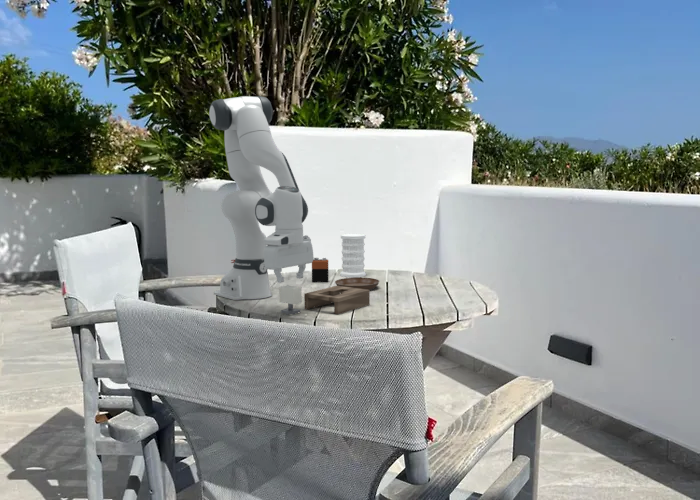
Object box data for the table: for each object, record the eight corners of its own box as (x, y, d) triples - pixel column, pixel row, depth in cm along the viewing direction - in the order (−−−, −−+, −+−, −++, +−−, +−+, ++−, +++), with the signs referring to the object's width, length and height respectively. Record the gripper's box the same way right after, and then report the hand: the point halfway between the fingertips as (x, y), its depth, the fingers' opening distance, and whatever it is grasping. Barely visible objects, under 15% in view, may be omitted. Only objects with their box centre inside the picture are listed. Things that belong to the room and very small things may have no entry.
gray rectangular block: (279, 312, 199) (278, 287, 198) (288, 310, 203) (287, 285, 202) (293, 315, 196) (292, 289, 195) (302, 312, 199) (301, 287, 198)
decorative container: (371, 276, 272) (371, 235, 269) (348, 278, 266) (348, 236, 264) (357, 272, 281) (357, 233, 279) (335, 274, 276) (335, 234, 274)
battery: (312, 280, 260) (312, 257, 259) (328, 280, 260) (328, 257, 259) (311, 282, 256) (311, 258, 254) (328, 282, 256) (328, 258, 254)
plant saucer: (341, 293, 232) (341, 285, 232) (329, 285, 249) (329, 278, 249) (385, 291, 237) (385, 283, 237) (371, 283, 254) (371, 276, 254)
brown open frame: (304, 308, 205) (304, 293, 204) (336, 300, 219) (336, 285, 219) (338, 314, 197) (338, 298, 196) (369, 304, 211) (369, 289, 211)
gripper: (302, 234, 206) (303, 275, 208) (260, 239, 190) (261, 283, 191) (317, 235, 203) (318, 276, 204) (275, 240, 186) (276, 285, 188)
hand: (290, 280), depth 198 cm, fingers open, 8 cm apart
